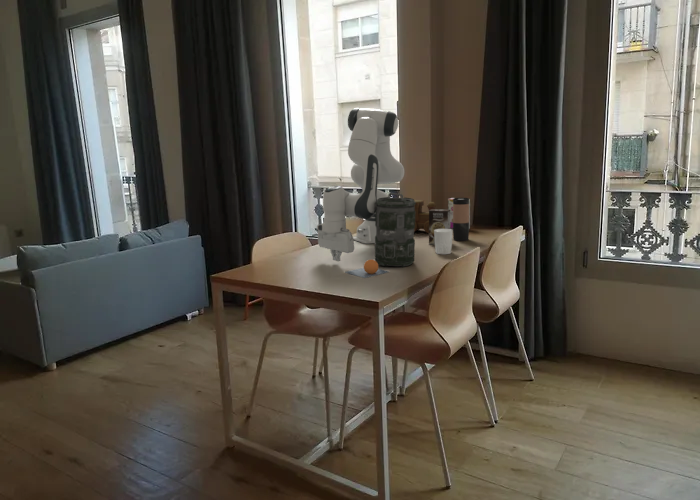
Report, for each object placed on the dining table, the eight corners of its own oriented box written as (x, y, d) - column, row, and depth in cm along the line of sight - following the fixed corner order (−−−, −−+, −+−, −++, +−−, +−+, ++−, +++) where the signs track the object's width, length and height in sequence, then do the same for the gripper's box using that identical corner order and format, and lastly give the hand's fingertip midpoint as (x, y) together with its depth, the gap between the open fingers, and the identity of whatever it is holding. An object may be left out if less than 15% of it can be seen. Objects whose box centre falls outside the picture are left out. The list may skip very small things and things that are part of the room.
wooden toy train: (400, 233, 284) (400, 202, 280) (407, 229, 294) (407, 199, 291) (437, 234, 276) (437, 202, 272) (443, 230, 286) (443, 199, 282)
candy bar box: (447, 228, 291) (447, 198, 288) (452, 227, 295) (452, 197, 291) (465, 230, 284) (465, 199, 280) (470, 229, 287) (470, 198, 284)
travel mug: (469, 238, 261) (470, 197, 257) (468, 241, 254) (468, 199, 250) (454, 238, 264) (454, 197, 260) (451, 240, 257) (451, 199, 253)
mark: (344, 272, 204) (344, 271, 204) (368, 267, 211) (368, 266, 211) (364, 278, 195) (364, 277, 195) (389, 272, 202) (389, 271, 202)
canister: (422, 262, 215) (424, 193, 209) (397, 269, 204) (398, 197, 198) (392, 256, 226) (393, 190, 220) (366, 262, 215) (367, 193, 209)
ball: (366, 258, 197) (371, 272, 196) (378, 256, 200) (383, 270, 199) (359, 263, 201) (363, 277, 200) (370, 261, 204) (375, 274, 203)
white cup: (452, 254, 227) (452, 231, 225) (433, 254, 229) (433, 231, 227) (452, 251, 235) (452, 228, 233) (434, 251, 236) (434, 228, 234)
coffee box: (428, 244, 250) (428, 210, 247) (431, 242, 256) (431, 208, 253) (447, 245, 247) (447, 210, 244) (450, 242, 253) (450, 208, 250)
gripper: (357, 228, 208) (358, 263, 211) (326, 223, 224) (328, 255, 227) (344, 230, 205) (346, 265, 207) (314, 225, 221) (316, 258, 223)
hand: (336, 260), depth 217 cm, fingers closed
